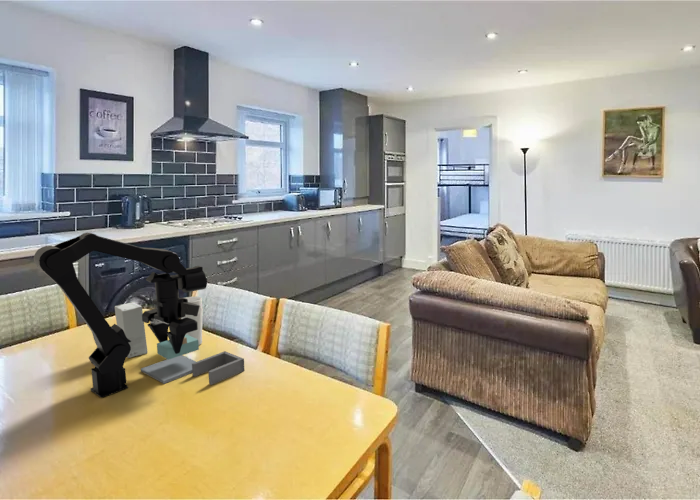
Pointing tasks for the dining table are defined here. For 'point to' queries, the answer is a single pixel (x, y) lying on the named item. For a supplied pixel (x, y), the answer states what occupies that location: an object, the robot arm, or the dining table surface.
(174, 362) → the mat
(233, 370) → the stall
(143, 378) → the dining table surface
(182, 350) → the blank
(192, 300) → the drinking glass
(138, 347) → the skincare box
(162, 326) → the robot arm
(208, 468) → the dining table surface
